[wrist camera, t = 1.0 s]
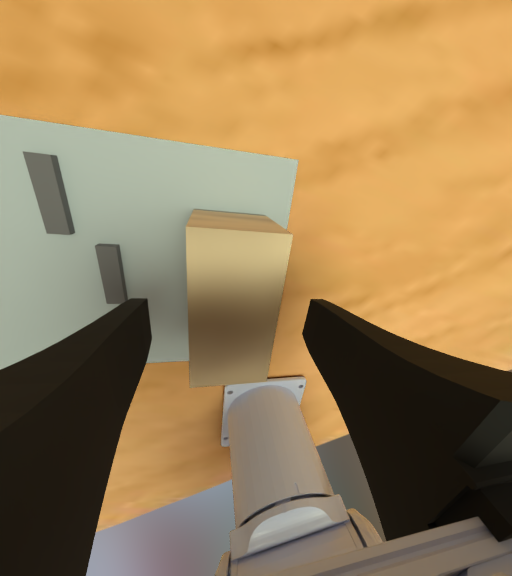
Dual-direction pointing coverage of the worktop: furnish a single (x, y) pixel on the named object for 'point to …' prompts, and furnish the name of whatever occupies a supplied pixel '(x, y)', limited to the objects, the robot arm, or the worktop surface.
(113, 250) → the pencil mark
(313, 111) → the worktop surface
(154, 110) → the worktop surface
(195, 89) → the worktop surface
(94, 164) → the board
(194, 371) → the block
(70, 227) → the pencil mark
